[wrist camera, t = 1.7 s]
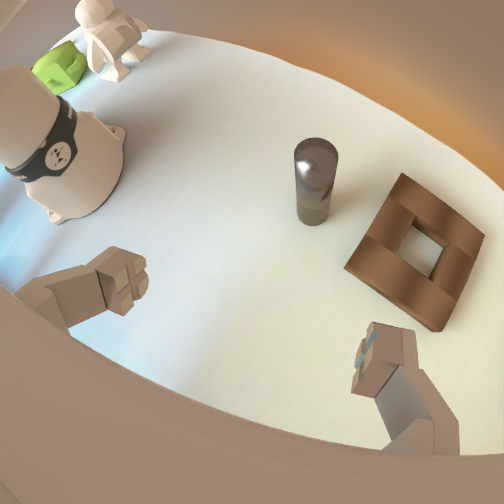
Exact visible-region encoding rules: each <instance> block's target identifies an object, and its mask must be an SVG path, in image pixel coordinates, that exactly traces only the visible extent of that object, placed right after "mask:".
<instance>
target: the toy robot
mask: <svg viewBox="0 0 504 504" xmlns="http://www.w3.org/2000/svg"><path fill="white" fill-rule="evenodd" d="M113 9H114V5H113V3H112V0H81V1H80V2H79V4H78V5H77V7H76V10H75V16H76V19H77V21H78V22H79V24H80V25H81V26H82V28H83V29H88V28H90V29H88V30H87V31H86V32H85V33H84V37H85V39H86V41H87V43H88V50H87V61H88V66H89V68H90V69H91V71H93V72H94V73H100V72H101V71H102V68H103V64H104V62H106V63H109V64H110V67H109V68H108V69H107V70H106V72H105V73H104V74H103V75H102V76H101V78H102V79H106V80H110V81H115V82H120V81H121V80H122V79H123V78H124V77H125V76H126V75H127V74H128V73H129V72H130V71H131V70H130V69H129V68H126V67H125V66H124V65H123V64H122V61H121V56H122V55H123V58H125V59H129V60H133V61H137V62H141V61H142V60H143V59H144V58H145V57H146V56H148V55H149V54H150V53H151V52H152V51H151V50H150V49H146V48H142V47H140V46H139V44H138V43H137V42H138V41H139V40H141V38H142V34H141V32H147V26H146V24H145V23H143V22H142V21H140V20H138V19H135V18H133V17H131V16H130V15H129V14H128V13H126V12H125V11H124V10H122V9H118V8H117V9H114V10H113ZM126 51H127V52H126ZM125 52H126V53H125Z"/></svg>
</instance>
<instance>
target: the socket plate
mask: <svg viewBox="0 0 504 504" xmlns="http://www.w3.org/2000/svg"><path fill="white" fill-rule="evenodd" d="M411 224H412V225H413V226H414V227H416V228H417V229H419V230H420V231H421V232H423V233H424V234H425V235H427V236H428V237H429V238H431V239H432V240H433V241H435V242H436V243H437V244H439V245H440V246H441V247H443V250H442V252H441V254H440V256H439V258H438V260H437V262H436V265H435V267H434V269H433V271H432V273H431V275H430V276H429V278H426V277H425V276H424V275H422V274H421V273H420V272H418V271H417V270H416V269H414V268H413V267H412V266H410V265H409V264H408V263H406V262H405V261H403V260H402V259H401V258H399V257H398V256H397V255H395V253H396V251H397V250H398V248H399V246H400V244H401V242H402V241H403V239H404V237H405V235H406V233H407V231H408V229H409V228H410V226H411ZM484 236H485V235H484V234H483V233H482V232H481V231H479V230H478V229H477V228H476V227H475V226H474V225H472V224H471V223H470V222H469V221H467V220H466V219H465V218H464V217H463V216H461V215H460V214H459V213H457V212H456V211H455V210H454V209H452V208H451V207H450V206H448V205H447V204H446V203H445V202H443V201H442V200H440V199H439V198H438V197H436V196H435V195H434V194H432V193H431V192H430V191H428V190H427V189H425V188H424V187H422V186H421V185H420V184H418V183H417V182H415V181H414V180H412V179H411V178H409V177H408V176H406V175H405V174H403V173H401V174H400V176H399V178H398V180H397V181H396V183H395V185H394V187H393V188H392V190H391V192H390V194H389V195H388V197H387V199H386V201H385V202H384V204H383V206H382V207H381V209H380V211H379V213H378V214H377V216H376V218H375V219H374V221H373V223H372V224H371V226H370V227H369V229H368V231H367V232H366V234H365V236H364V237H363V239H362V240H361V242H360V244H359V245H358V247H357V248H356V250H355V251H354V253H353V254H352V256H351V258H350V259H349V261H348V262H347V264H346V265H345V267H344V269H345V270H347V271H348V272H350V273H351V274H352V275H354V276H355V277H357V278H358V279H360V280H361V281H362V282H364V283H365V284H367V285H368V286H370V287H371V288H372V289H374V290H375V291H377V292H378V293H379V294H381V295H382V296H384V297H385V298H386V299H388V300H389V301H391V302H392V303H393V304H395V305H396V306H397V307H399V308H400V309H402V310H403V311H404V312H406V313H407V314H408V315H410V316H411V317H413V318H414V319H415V320H417V321H418V322H419V323H421V324H422V325H423V326H425V327H426V328H427V329H429V330H430V331H431V332H442V330H443V329H444V327H445V325H446V323H447V321H448V319H449V317H450V315H451V313H452V311H453V309H454V307H455V305H456V303H457V301H458V299H459V297H460V295H461V293H462V291H463V289H464V286H465V284H466V282H467V280H468V277H469V275H470V273H471V270H472V268H473V265H474V263H475V260H476V258H477V255H478V253H479V250H480V247H481V245H482V242H483V239H484Z"/></svg>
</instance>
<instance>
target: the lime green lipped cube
mask: <svg viewBox="0 0 504 504" xmlns="http://www.w3.org/2000/svg"><path fill="white" fill-rule="evenodd" d="M85 58H86V57H85V56H84V54H83V53H80V52H79V50H78V49H77V48H76V47H75V45H74V44H73V43H72V42H71V40H69V41H67V42H65V43H63V44H61V45H59V46H57V47H56V48H54V49H52V50H51V51H49V52H47V53H46V54H45V55H43V56H42V57H40V58H39V60H38V61H37V62H36V64H35V66H34V67H33V69H32V72H33V73H34V74H35V75H36V76H37V77H38V78H39V79H40V80H41V81H42V82H43V83H44V84H45V85H46V86H47V87H48V88H49V89H50V91H51V92H52V93H53V94H54V95H57V94H60V93H62V92H64V91H65V90H67V89H69V88H71V87H73V86H75V85H76V84H77V83H78V81H79V79H80V77H81V76H82V74H83V72H84V70H85V68H86V66H87V63H88V62H87V61H86V60H85Z"/></svg>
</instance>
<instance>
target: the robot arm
mask: <svg viewBox="0 0 504 504" xmlns="http://www.w3.org/2000/svg"><path fill="white" fill-rule="evenodd" d="M26 1H27V0H0V32H1V31H2V30H3V29H4V28H5V26H6V25H7V23H9V21H10V20H11V19H12V18H13V17H14V15H15V14H16V13H17V12H18V10H19V9H20V8H21V7H22V6H23V4H25V2H26ZM125 136H126V131H125V130H124V129H123V128H121V127H118V126H113V125H108V124H103V123H102V122H101V121H100V120H99V119H98V118H97V117H96V116H95V115H94V114H93V113H91V112H88V113H87V112H76V111H75V110H74V109H73V108H72V107H71V105H70V104H69V103H68V102H67V101H65V100H64V99H63V98H62V97H61V96H58V95H54V94H53V93H52V92H51V91H50V89H49V88H48V87H47V86H46V85H45V84H44V83H43V82H42V81H41V80H40V79H39V78H38V77H37V76H36V75H35V74H34V73H33V72H32V71H31V70H30V69H29V68H27V67H24V66H20V65H14V66H10V67H6V68H4V69H1V70H0V163H1V164H3V165H4V166H5V169H6V170H7V171H8V172H9V173H11V175H12V176H13V177H15V178H17V179H19V180H21V181H23V182H24V184H25V186H26V191H27V193H28V194H27V195H28V197H30V198H31V199H32V200H34V201H35V202H37V203H38V204H40V205H42V206H43V207H45V209H46V211H47V214H48V216H49V219H50V221H51V222H52V223H53V224H54V225H59V224H61V223H62V222H64V221H65V220H67V219H72V218H80V217H83V216H86V215H88V214H89V213H91V212H93V211H94V210H95V209H97V208H98V207H99V206H100V205H101V204H102V203H103V202H104V201H105V200H106V199H107V197H108V196H109V195H110V193H111V192H112V190H113V189H114V187H115V185H116V183H117V181H118V179H119V177H120V174H121V170H122V166H123V149H122V147H123V143H124V140H125ZM145 268H146V260H145V258H144V257H143V256H141V255H138V254H135V253H132V252H129V251H127V250H124V249H120V248H118V247H115V246H111V247H109V248H108V249H106V250H105V251H103V252H102V253H101V254H99V255H98V256H97V257H96V258H94V259H93V260H92V261H90V262H89V263H88V264H86V265H85V266H84V265H80V266H76V267H72V268H69V269H65V270H62V271H58V272H55V273H51V274H48V275H44V276H41V277H37V278H34V279H32V280H31V281H30V282H29V283H27V284H26V285H25V286H24V287H22V288H21V289H20V290H19V291H17V292H16V293H15V294H14V295H13V294H12V293H11V292H10V291H8V290H7V289H6V288H5V287H3V286H2V285H1V284H0V504H504V453H502V454H489V455H460V446H459V424H458V420H457V419H456V417H455V416H454V414H453V413H452V411H451V410H450V408H449V407H448V405H447V404H446V402H445V401H444V399H443V398H442V396H441V395H440V393H439V392H438V390H437V389H436V388H435V386H434V385H433V383H432V382H431V380H430V379H429V378H428V376H427V375H426V373H425V372H424V371H423V369H419V364H418V353H417V343H416V335H415V332H414V330H410V329H405V328H398V327H394V326H390V325H385V324H381V323H377V322H371V323H370V325H369V327H368V329H367V335H366V338H364V339H362V341H361V343H360V345H359V348H358V351H357V354H356V359H355V365H354V366H355V368H356V370H357V371H356V372H355V374H354V376H353V381H352V389H351V393H353V394H358V395H362V396H366V397H371V398H375V399H374V400H375V402H376V405H377V407H378V409H379V412H380V414H381V416H382V419H383V421H384V424H385V426H386V428H387V431H388V433H389V436H390V438H391V440H392V442H391V443H389V444H388V445H387V446H386V447H385V448H383V449H382V450H375V449H368V448H362V447H356V446H350V445H344V444H339V443H334V442H329V441H324V440H320V439H315V438H311V437H307V436H303V435H299V434H295V433H291V432H287V431H284V430H280V429H277V428H273V427H270V426H266V425H263V424H260V423H257V422H253V421H250V420H247V419H244V418H241V417H238V416H235V415H233V414H230V413H227V412H224V411H222V410H219V409H216V408H214V407H211V406H208V405H206V404H203V403H201V402H198V401H196V400H193V399H191V398H189V397H186V396H184V395H181V394H179V393H177V392H175V391H172V390H170V389H168V388H166V387H164V386H161V385H159V384H157V383H155V382H153V381H151V380H149V379H147V378H145V377H143V376H141V375H139V374H137V373H135V372H133V371H131V370H129V369H127V368H125V367H123V366H121V365H119V364H118V363H116V362H114V361H112V360H110V359H109V358H107V357H105V356H103V355H102V354H100V353H98V352H96V351H95V350H93V349H91V348H90V347H88V346H86V345H85V344H83V343H81V342H80V341H78V340H77V339H75V338H73V337H72V336H71V335H70V333H69V330H68V328H70V327H72V326H74V325H76V324H78V323H81V322H83V321H85V320H87V319H89V318H91V317H94V316H96V315H98V314H100V313H102V312H104V311H107V309H108V310H110V311H112V312H114V313H117V314H119V315H121V316H125V315H126V314H127V312H128V311H129V310H130V309H131V308H132V307H133V306H134V301H135V300H138V299H141V298H142V297H143V296H144V294H145V293H146V291H147V288H148V283H149V280H148V275H147V274H146V272H145V271H144V269H145Z"/></svg>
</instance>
